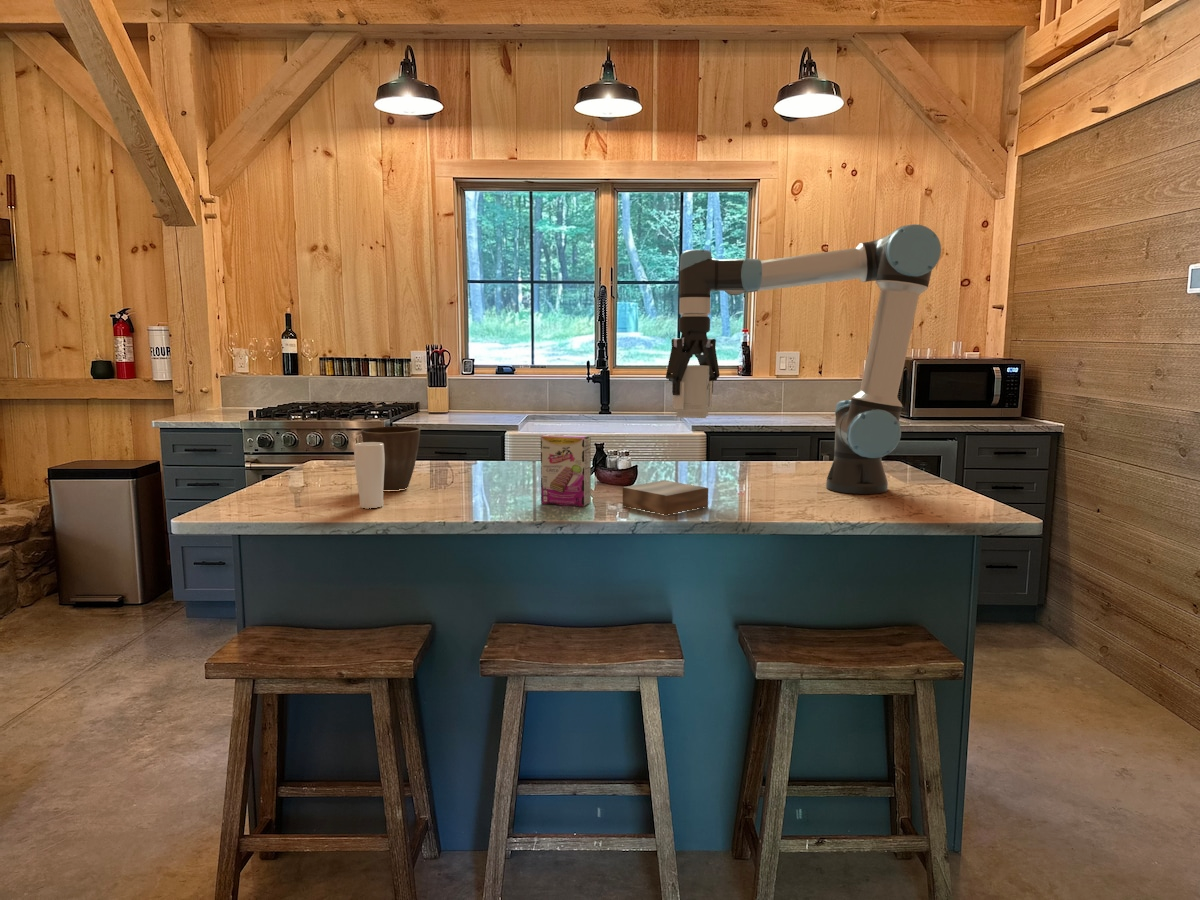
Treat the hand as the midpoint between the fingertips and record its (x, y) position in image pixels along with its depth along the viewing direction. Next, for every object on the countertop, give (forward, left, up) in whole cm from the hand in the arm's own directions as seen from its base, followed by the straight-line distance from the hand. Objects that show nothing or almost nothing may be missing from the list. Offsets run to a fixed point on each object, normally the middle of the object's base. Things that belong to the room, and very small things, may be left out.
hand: (692, 407), depth 193 cm
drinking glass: (+43, +64, -22) cm, 81 cm away
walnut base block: (-5, +15, -22) cm, 27 cm away
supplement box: (0, 0, -2) cm, 2 cm away
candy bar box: (+14, +29, -22) cm, 39 cm away
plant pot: (+60, +49, -22) cm, 81 cm away
